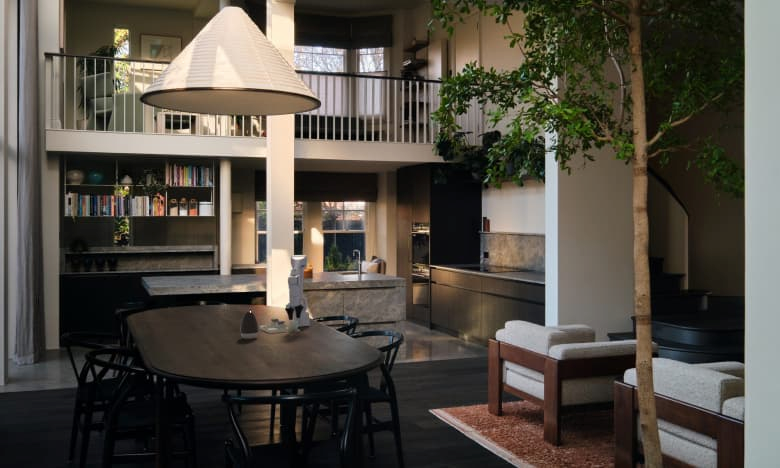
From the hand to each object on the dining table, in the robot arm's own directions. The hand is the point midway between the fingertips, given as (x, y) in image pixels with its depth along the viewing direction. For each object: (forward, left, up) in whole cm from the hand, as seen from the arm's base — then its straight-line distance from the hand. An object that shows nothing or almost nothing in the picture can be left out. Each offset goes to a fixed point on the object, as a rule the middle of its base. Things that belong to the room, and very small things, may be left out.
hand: (294, 318), depth 418 cm
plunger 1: (+7, -15, -4) cm, 17 cm away
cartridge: (0, 0, -7) cm, 7 cm away
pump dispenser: (+31, +11, -7) cm, 33 cm away
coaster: (0, 0, -7) cm, 7 cm away
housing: (+10, -9, -7) cm, 15 cm away
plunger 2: (+7, -4, -4) cm, 9 cm away
